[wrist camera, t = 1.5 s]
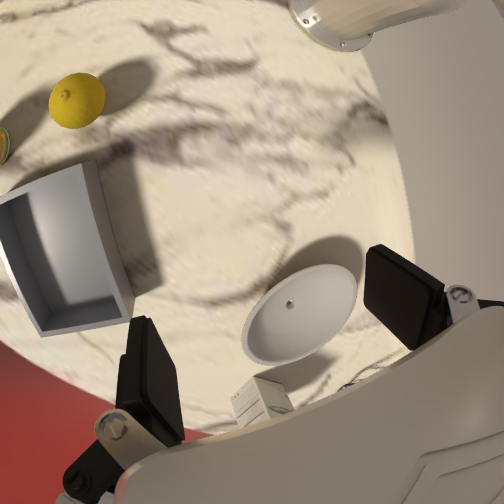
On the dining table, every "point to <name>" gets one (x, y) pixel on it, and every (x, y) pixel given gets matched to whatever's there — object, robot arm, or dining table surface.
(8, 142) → the supplement bottle
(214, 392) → the dining table surface
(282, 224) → the dining table surface
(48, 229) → the tote
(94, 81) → the lemon
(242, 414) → the supplement box
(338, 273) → the dish
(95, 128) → the dining table surface
